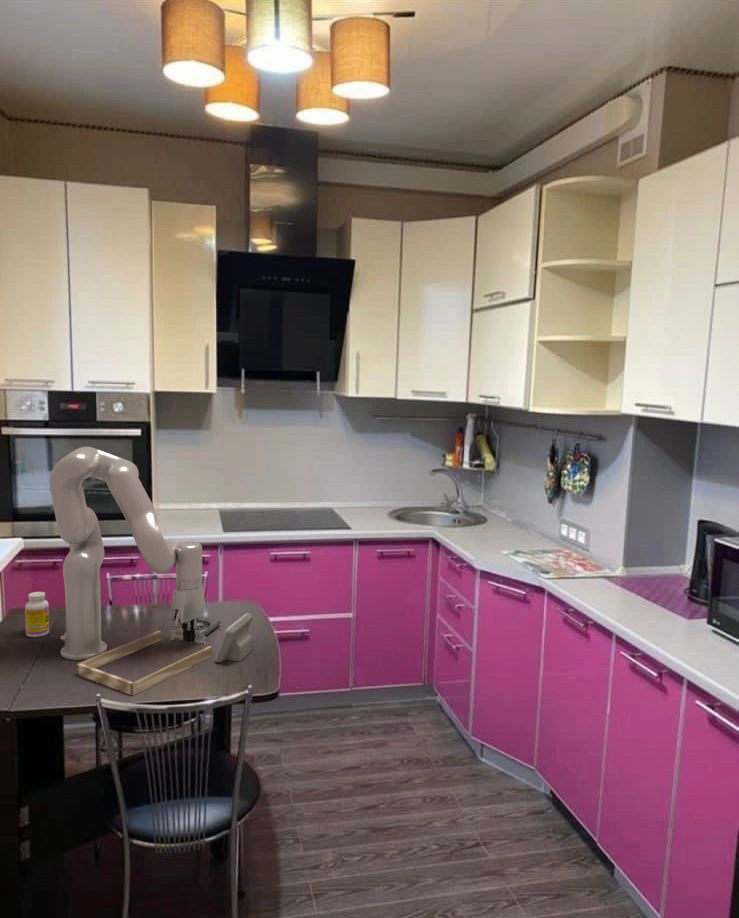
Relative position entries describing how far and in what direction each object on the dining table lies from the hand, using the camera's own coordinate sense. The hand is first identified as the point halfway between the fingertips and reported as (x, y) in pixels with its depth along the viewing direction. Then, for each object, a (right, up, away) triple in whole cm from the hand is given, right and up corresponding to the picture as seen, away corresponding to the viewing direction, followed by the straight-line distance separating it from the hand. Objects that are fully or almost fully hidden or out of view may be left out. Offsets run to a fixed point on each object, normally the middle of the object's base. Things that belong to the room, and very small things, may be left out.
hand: (188, 641), depth 206 cm
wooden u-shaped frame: (-8, -3, -14) cm, 17 cm away
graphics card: (+1, -1, +10) cm, 11 cm away
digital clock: (+15, -3, -4) cm, 16 cm away
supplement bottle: (-49, +1, +5) cm, 49 cm away
